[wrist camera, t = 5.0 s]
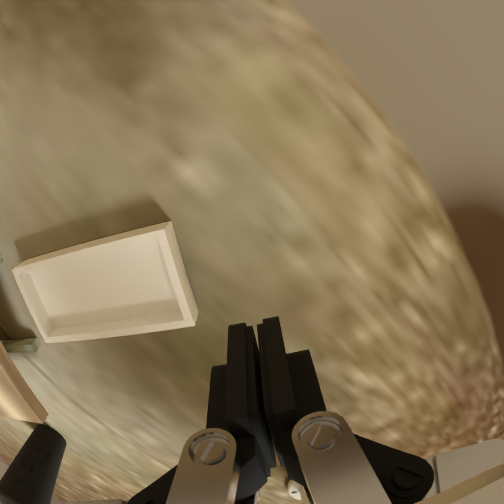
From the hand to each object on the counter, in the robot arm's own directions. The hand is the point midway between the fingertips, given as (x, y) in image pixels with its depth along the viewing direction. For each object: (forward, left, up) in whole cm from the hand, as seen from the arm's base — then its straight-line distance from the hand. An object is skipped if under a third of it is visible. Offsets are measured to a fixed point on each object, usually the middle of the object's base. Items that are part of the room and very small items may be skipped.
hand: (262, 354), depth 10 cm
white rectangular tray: (+12, +1, -11) cm, 17 cm away
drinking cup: (+32, +21, -12) cm, 40 cm away
